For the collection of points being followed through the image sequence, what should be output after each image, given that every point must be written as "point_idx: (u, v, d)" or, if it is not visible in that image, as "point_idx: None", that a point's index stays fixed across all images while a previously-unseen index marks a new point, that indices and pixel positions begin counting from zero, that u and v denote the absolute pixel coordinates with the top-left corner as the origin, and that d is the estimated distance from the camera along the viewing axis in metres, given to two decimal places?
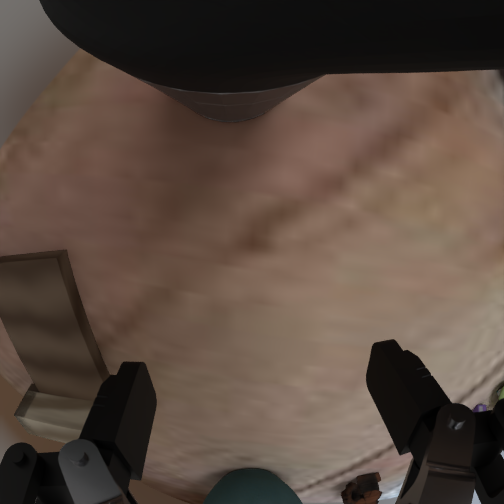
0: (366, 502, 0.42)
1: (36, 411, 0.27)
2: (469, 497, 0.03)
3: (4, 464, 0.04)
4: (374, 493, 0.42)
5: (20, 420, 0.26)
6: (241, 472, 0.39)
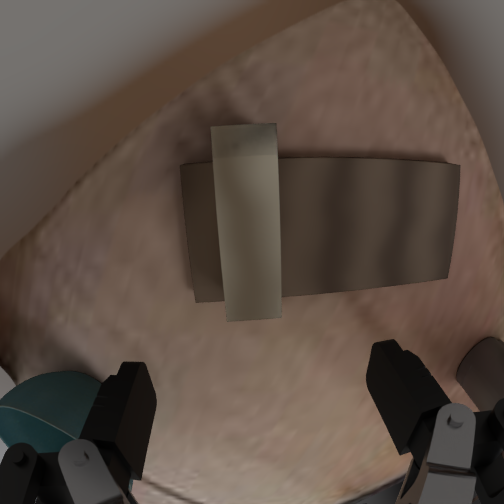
0: None
1: None
2: (470, 497, 0.03)
3: (4, 465, 0.04)
4: None
5: (262, 135, 0.18)
6: None
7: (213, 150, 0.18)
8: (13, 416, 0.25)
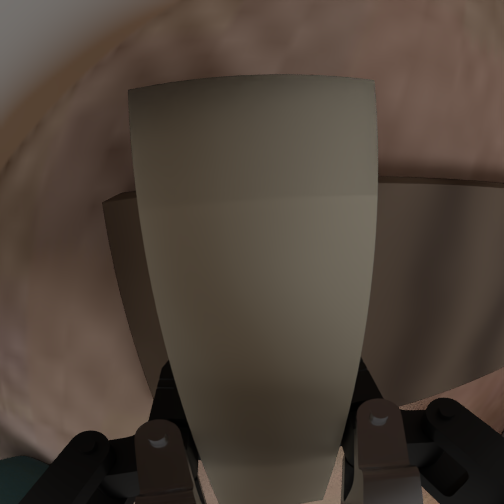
0: None
1: None
2: (418, 490, 0.04)
3: (69, 449, 0.05)
4: None
5: (328, 121, 0.04)
6: None
7: (139, 179, 0.05)
8: None
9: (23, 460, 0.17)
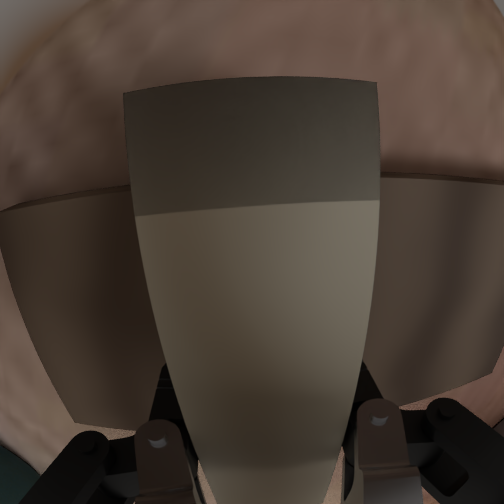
0: None
1: None
2: (418, 490, 0.04)
3: (68, 449, 0.05)
4: None
5: (329, 125, 0.04)
6: (36, 478, 0.18)
7: (135, 185, 0.04)
8: None
9: None
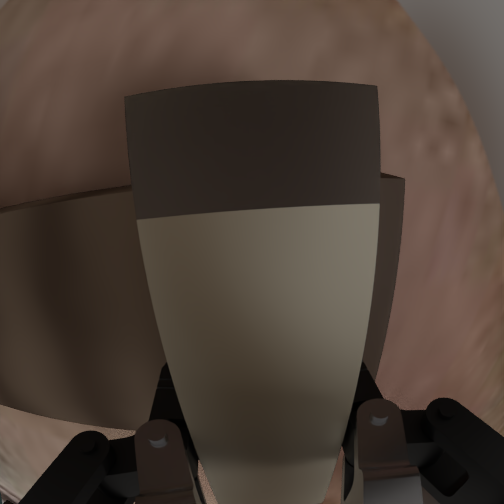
0: None
1: None
2: (418, 490, 0.04)
3: (68, 449, 0.05)
4: None
5: (330, 128, 0.04)
6: None
7: (137, 189, 0.04)
8: None
9: None
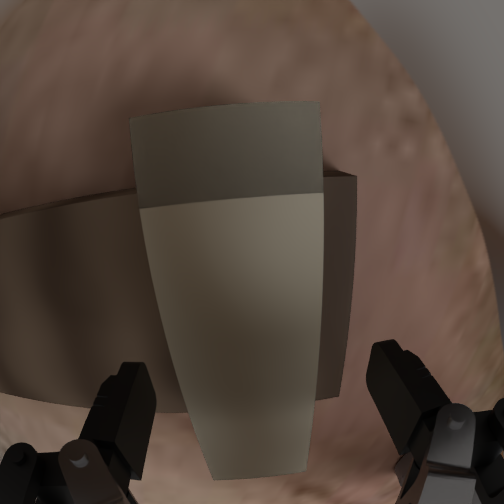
0: None
1: None
2: (469, 497, 0.03)
3: (4, 464, 0.04)
4: None
5: (281, 137, 0.06)
6: None
7: (139, 186, 0.06)
8: None
9: None
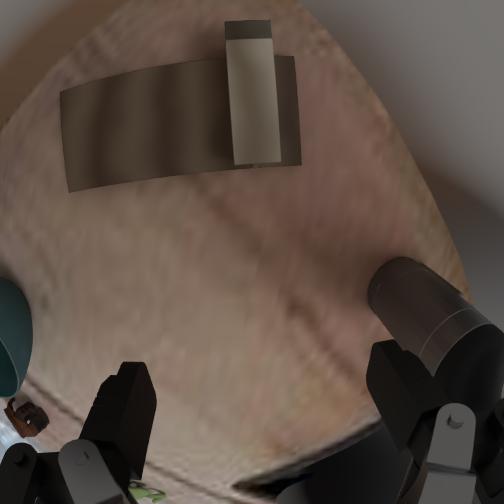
0: (24, 429, 0.39)
1: None
2: (470, 497, 0.03)
3: (4, 465, 0.04)
4: (35, 431, 0.41)
5: (261, 27, 0.21)
6: (26, 302, 0.35)
7: (226, 35, 0.21)
8: None
9: None
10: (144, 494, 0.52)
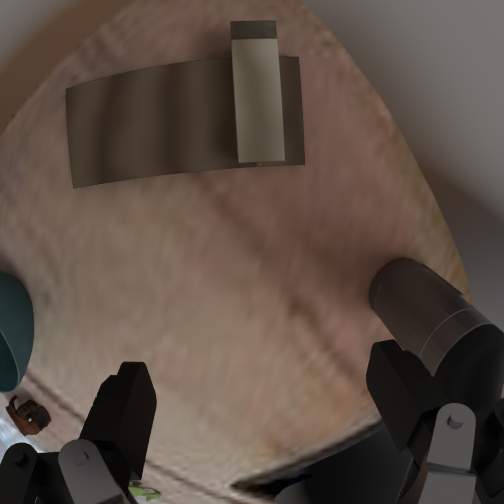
0: (25, 427, 0.39)
1: None
2: (470, 497, 0.03)
3: (4, 464, 0.04)
4: (36, 429, 0.41)
5: (266, 27, 0.22)
6: (28, 297, 0.35)
7: (232, 35, 0.22)
8: None
9: None
10: (140, 492, 0.52)
